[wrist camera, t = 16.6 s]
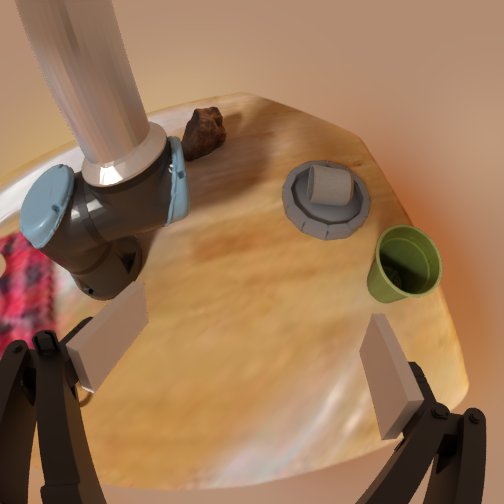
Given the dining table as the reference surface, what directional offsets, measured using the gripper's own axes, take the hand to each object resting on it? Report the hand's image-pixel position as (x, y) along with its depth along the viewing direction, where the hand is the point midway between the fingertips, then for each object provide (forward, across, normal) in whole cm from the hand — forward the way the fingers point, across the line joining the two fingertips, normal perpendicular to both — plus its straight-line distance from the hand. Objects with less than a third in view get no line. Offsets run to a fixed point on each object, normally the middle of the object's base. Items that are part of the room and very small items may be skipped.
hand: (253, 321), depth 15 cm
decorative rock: (+52, -19, +9) cm, 56 cm away
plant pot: (+32, +21, -11) cm, 39 cm away
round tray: (+43, +9, +1) cm, 44 cm away
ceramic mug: (+44, +9, +3) cm, 44 cm away
